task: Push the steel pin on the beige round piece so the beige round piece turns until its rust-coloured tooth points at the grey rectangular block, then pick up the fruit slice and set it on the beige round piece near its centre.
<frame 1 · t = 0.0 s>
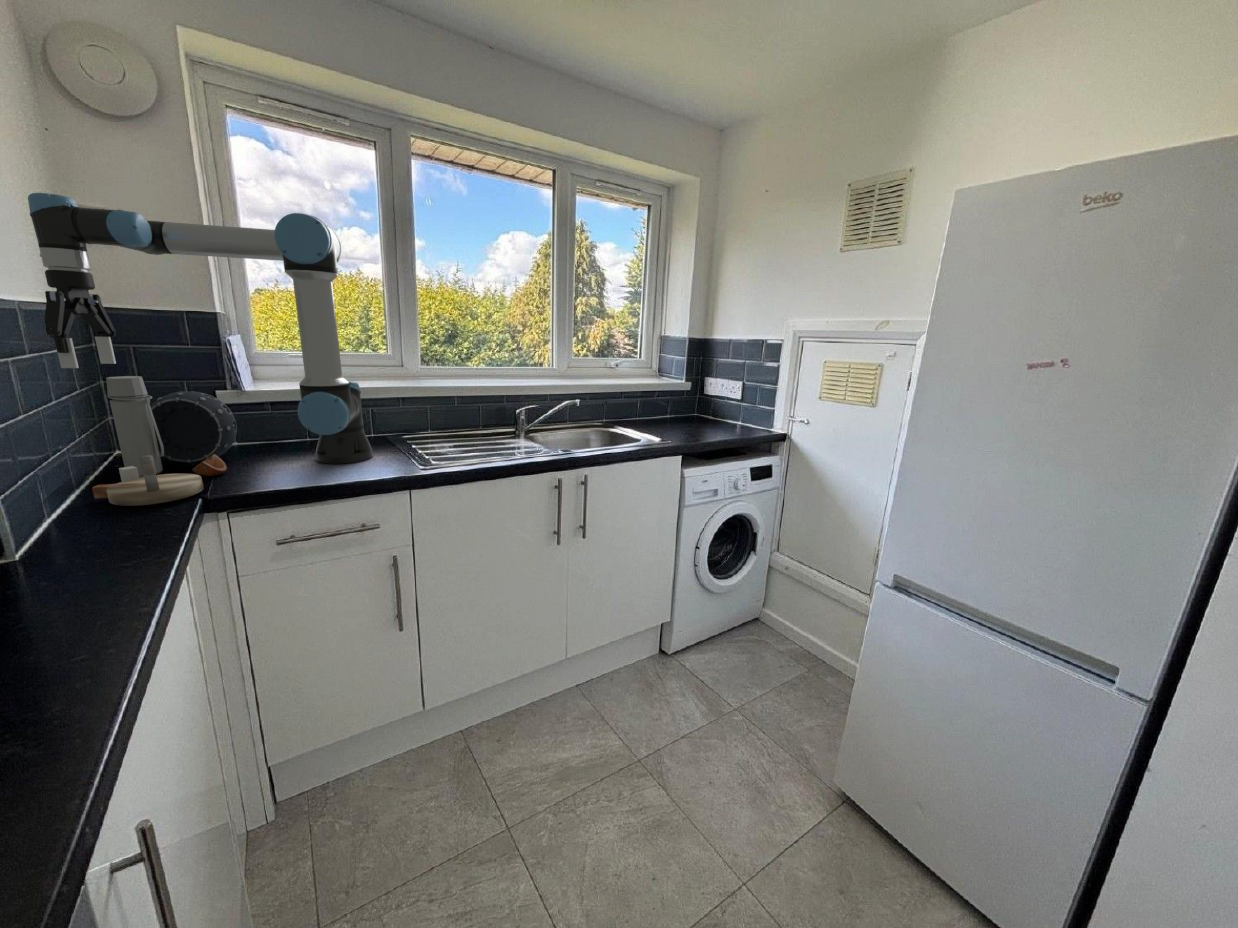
hand: (90, 365, 121), 28 cm above the countertop, tool pointing down, fingers open, 13 cm apart
grey dotted bowl: (198, 462, 146), on the countertop
beige round piece: (145, 473, 114), point 6 cm above the countertop, hinge at 0.0°
fruit slice: (210, 476, 134), on the countertop
grey rectangular block: (132, 488, 122), on the countertop
water bottle: (149, 475, 133), on the countertop
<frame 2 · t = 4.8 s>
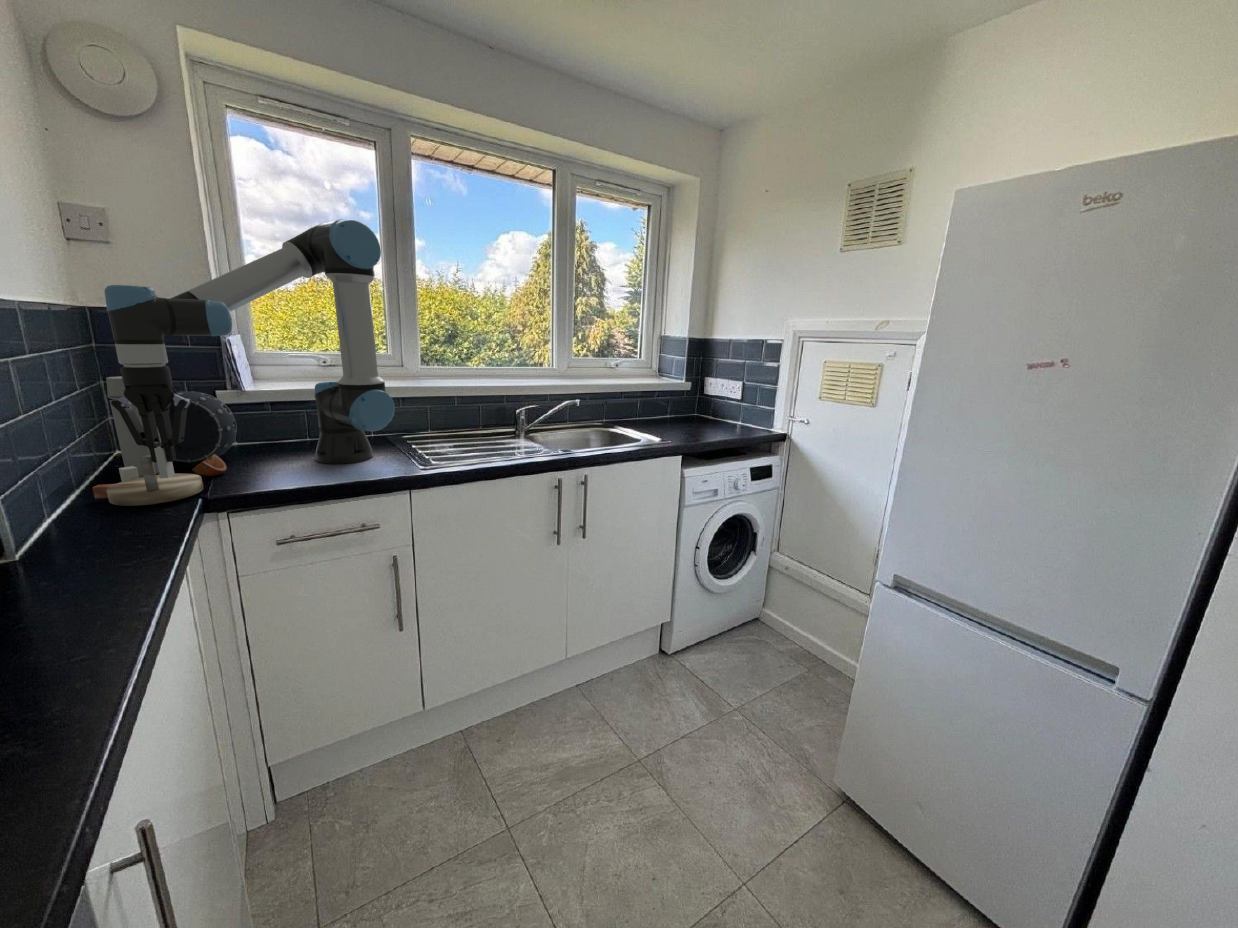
hand: (167, 476, 110), 7 cm above the countertop, tool pointing down, fingers closed
beige round piece: (145, 473, 114), point 6 cm above the countertop, hinge at -0.5°, touching gripper
everything else where it was.
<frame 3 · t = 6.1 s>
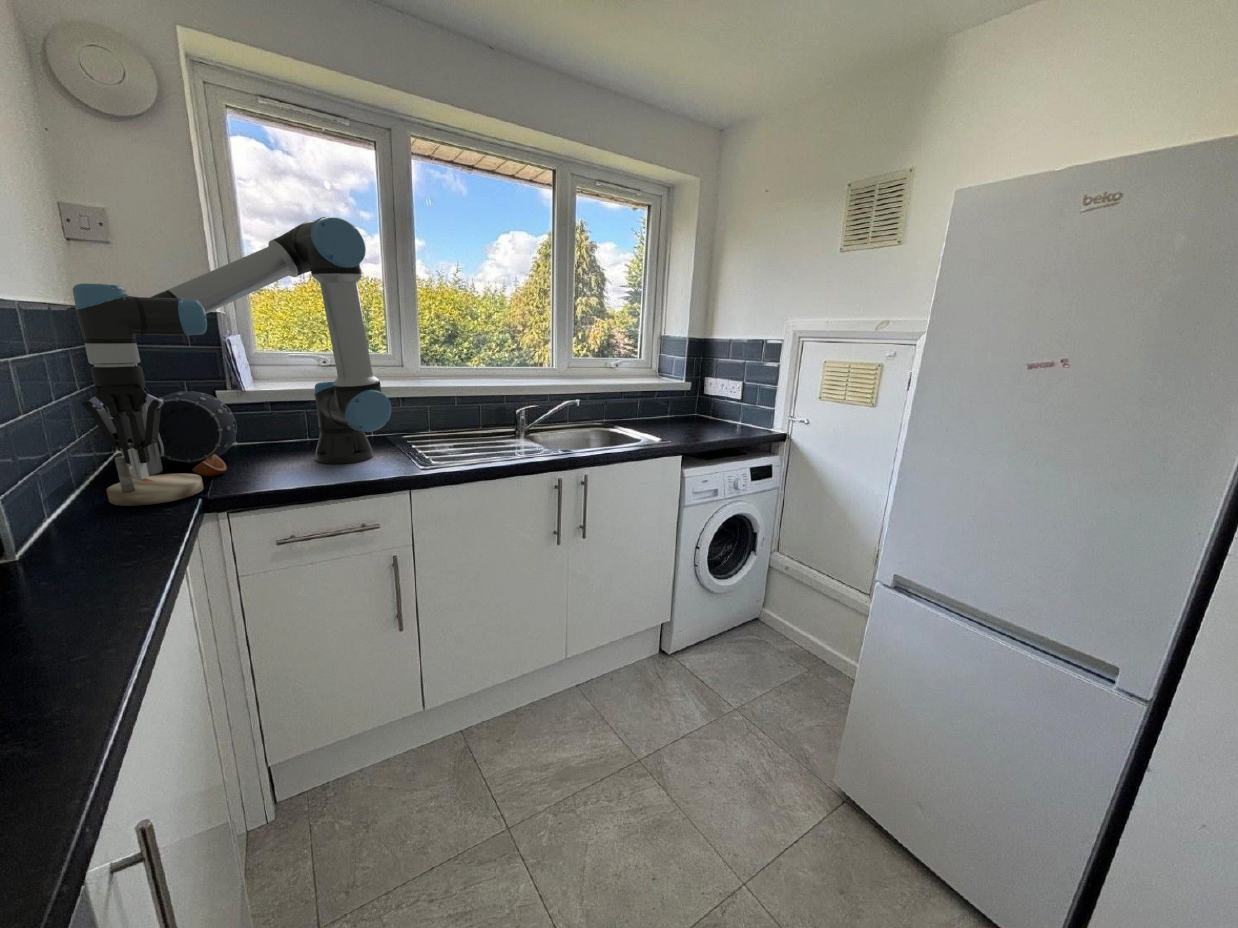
hand: (141, 477, 109), 7 cm above the countertop, tool pointing down, fingers closed
beige round piece: (148, 472, 115), point 6 cm above the countertop, hinge at -42.7°, touching gripper
everything else where it was.
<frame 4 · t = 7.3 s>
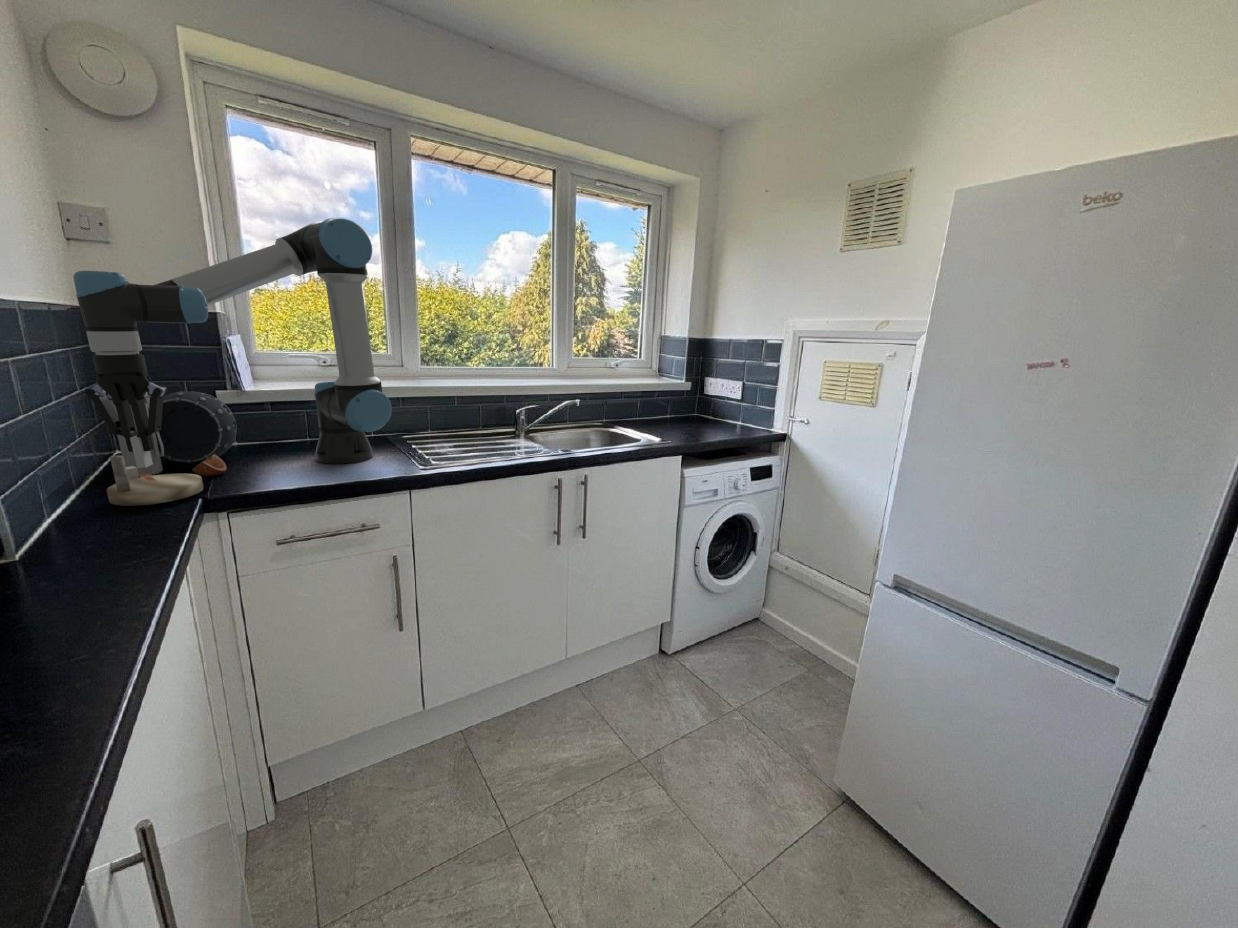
hand: (145, 465, 109), 9 cm above the countertop, tool pointing down, fingers closed
beige round piece: (149, 471, 115), point 6 cm above the countertop, hinge at -54.0°
everything else where it was.
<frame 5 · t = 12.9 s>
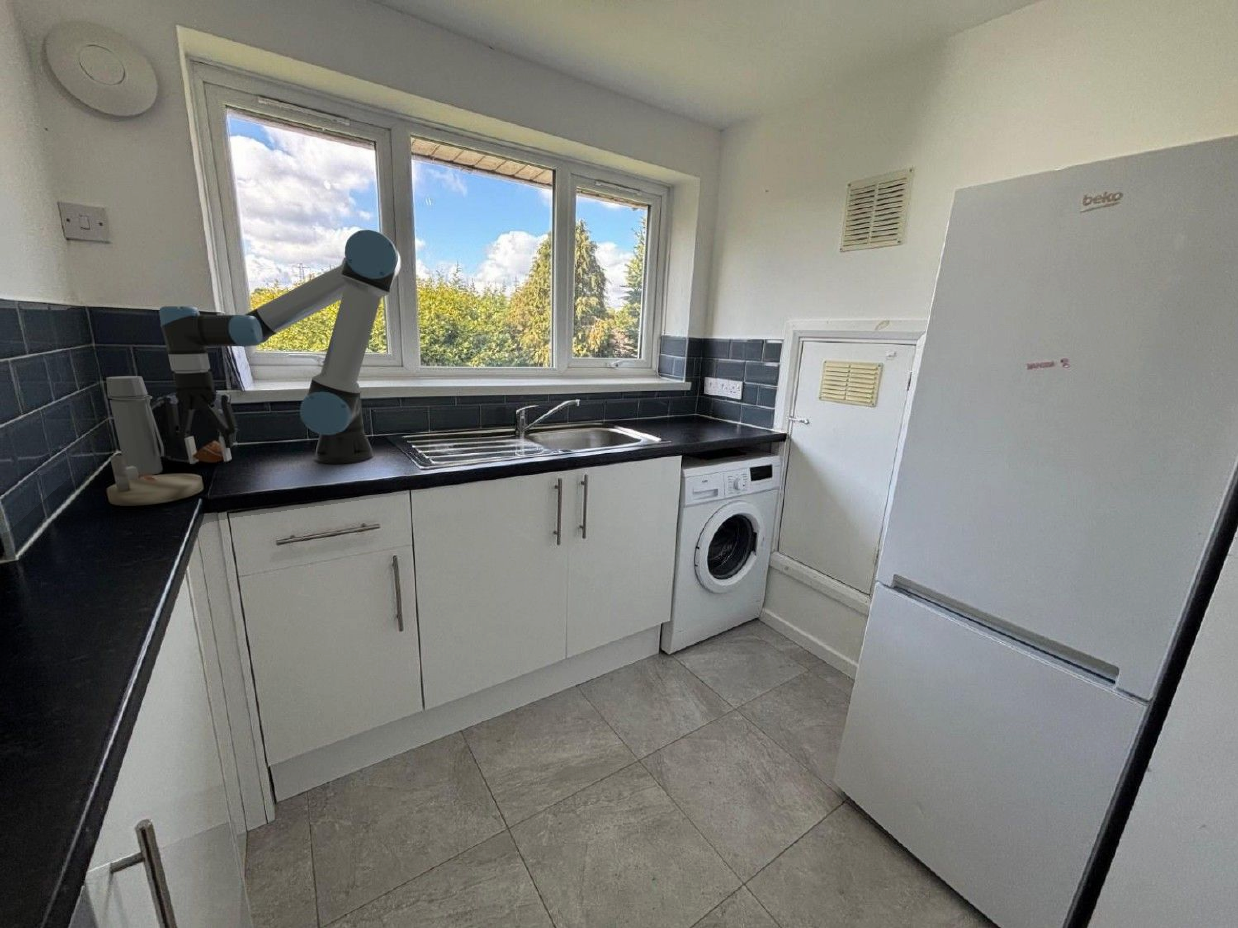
hand: (211, 461, 133), 4 cm above the countertop, tool pointing down, fingers closed on fruit slice, 7 cm apart
fruit slice: (211, 463, 133), point 3 cm above the countertop, touching gripper
everything else where it was.
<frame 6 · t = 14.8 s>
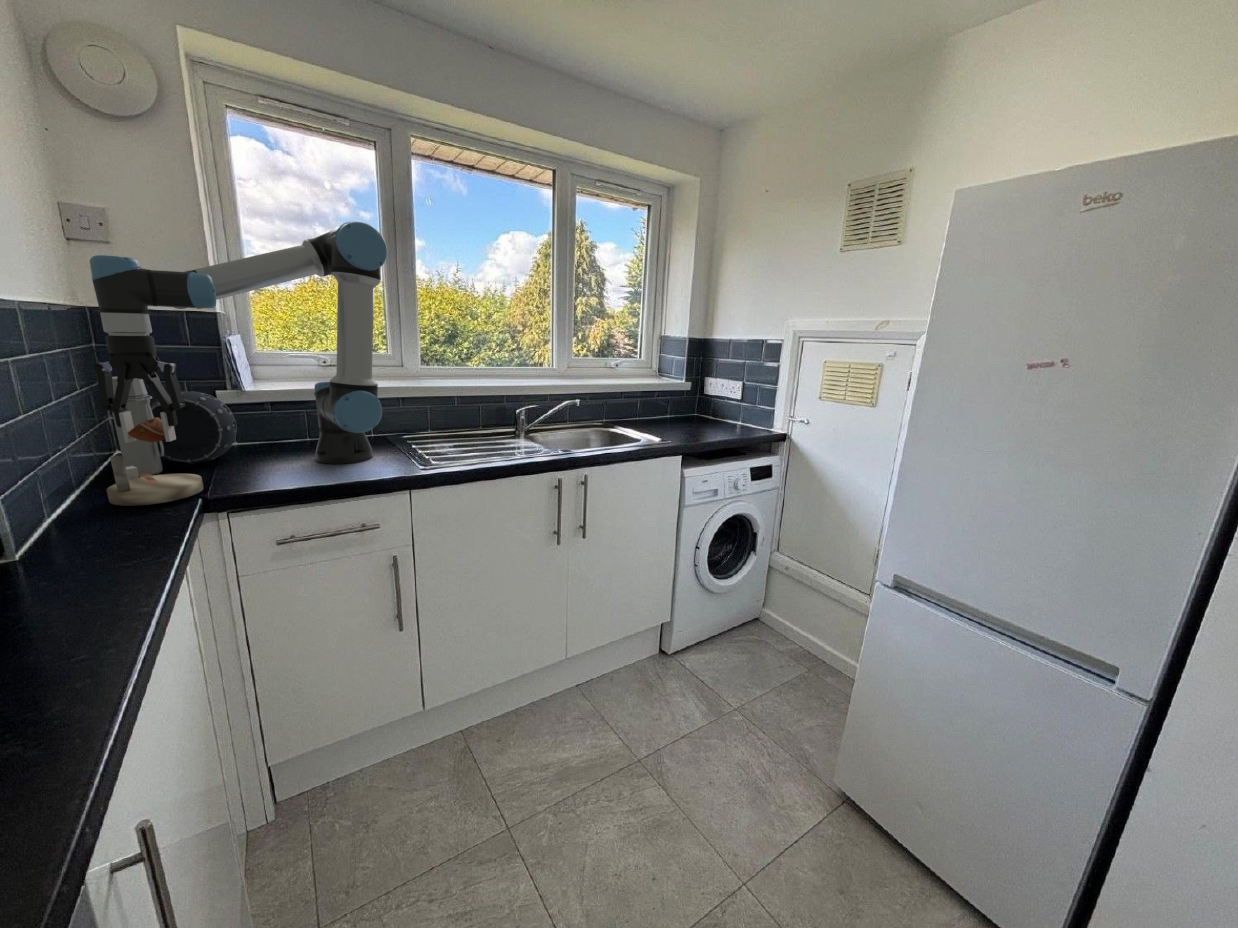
hand: (151, 440, 114), 13 cm above the countertop, tool pointing down, fingers closed on fruit slice, 7 cm apart
fruit slice: (151, 442, 114), point 12 cm above the countertop, touching gripper
everything else where it was.
when the fingers open (4 cm above the countertop, at t = 16.7 s): fruit slice stays where it is, resting on beige round piece.
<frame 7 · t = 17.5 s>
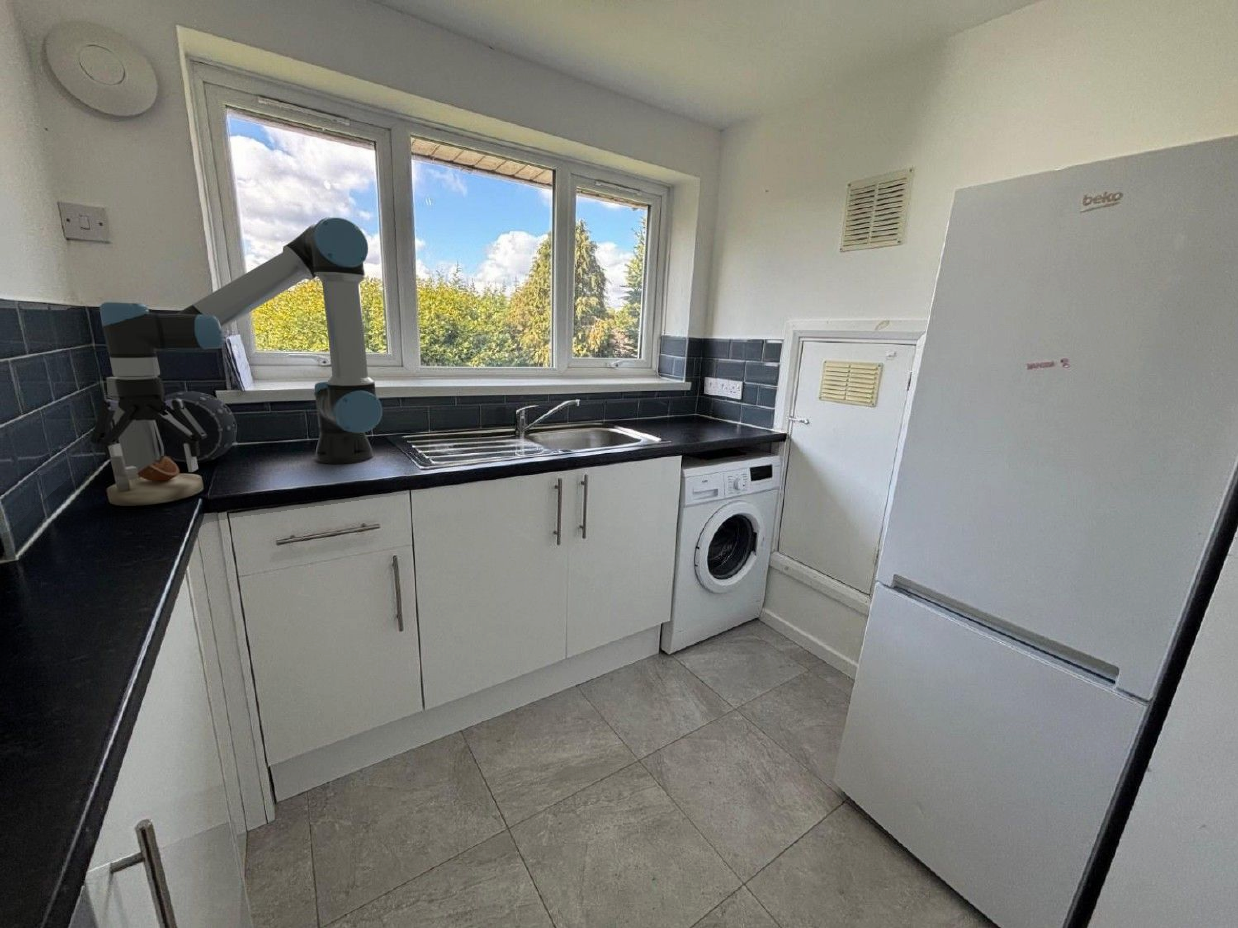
hand: (157, 472, 116), 6 cm above the countertop, tool pointing down, fingers open, 13 cm apart
beige round piece: (149, 471, 115), point 6 cm above the countertop, hinge at -54.0°, touching fruit slice
fruit slice: (160, 481, 117), point 3 cm above the countertop, touching beige round piece
everything else where it was.
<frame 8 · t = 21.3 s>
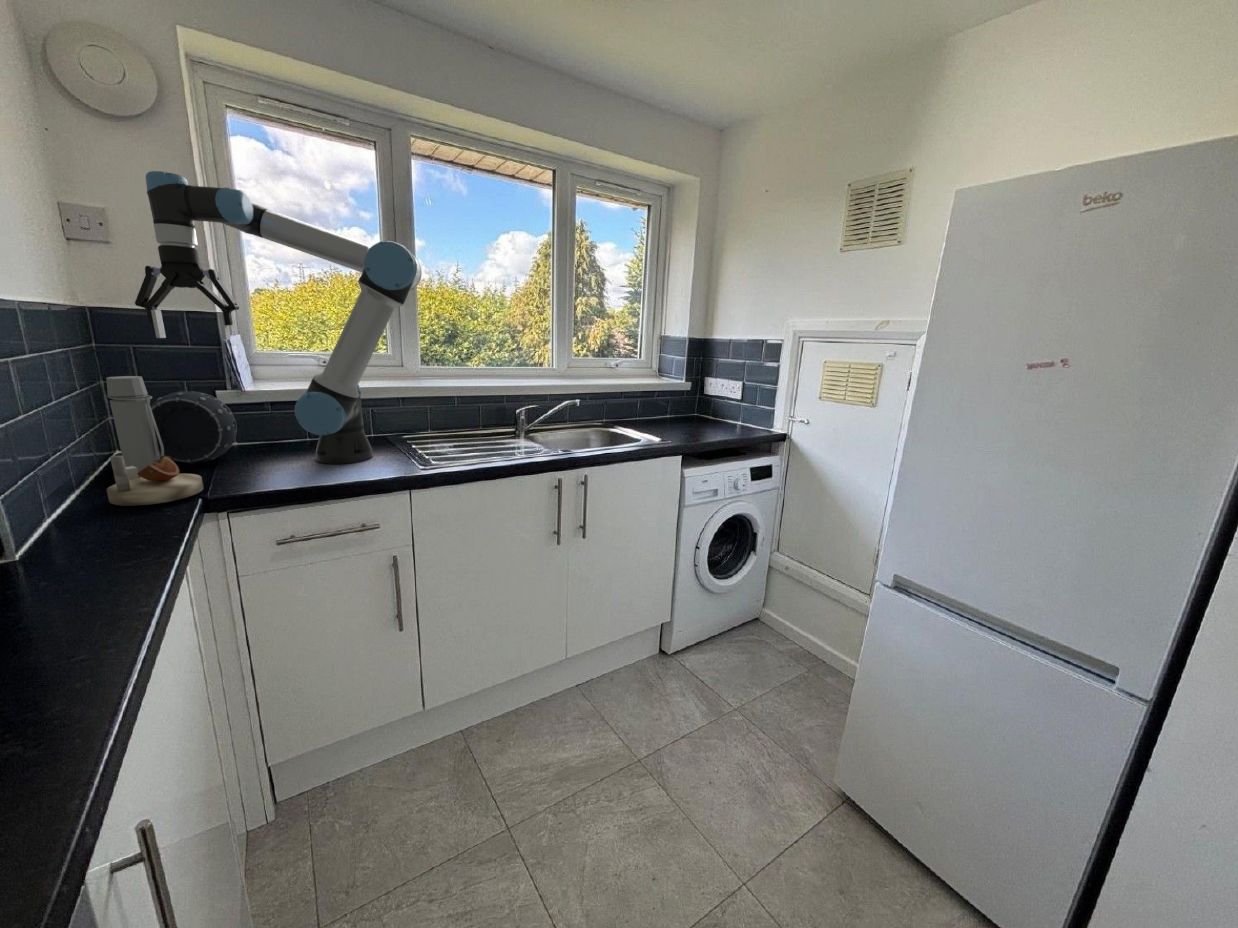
hand: (194, 338, 127), 35 cm above the countertop, tool pointing down, fingers open, 13 cm apart
nothing on the countertop moved.
at the end: beige round piece at -54° (first picture: +0°); fruit slice inside the target area on the beige round piece (0.1 cm from its centre), point 3.3 cm above the beige round piece's base; the gripper is holding nothing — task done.
